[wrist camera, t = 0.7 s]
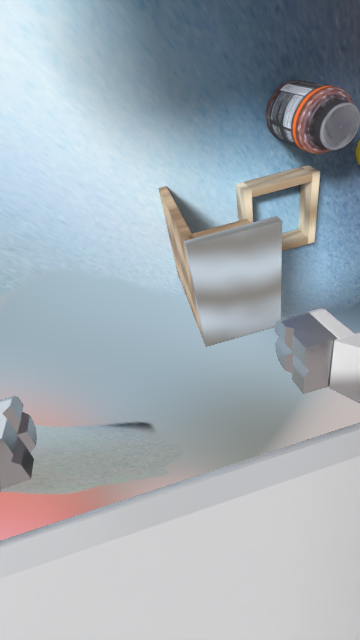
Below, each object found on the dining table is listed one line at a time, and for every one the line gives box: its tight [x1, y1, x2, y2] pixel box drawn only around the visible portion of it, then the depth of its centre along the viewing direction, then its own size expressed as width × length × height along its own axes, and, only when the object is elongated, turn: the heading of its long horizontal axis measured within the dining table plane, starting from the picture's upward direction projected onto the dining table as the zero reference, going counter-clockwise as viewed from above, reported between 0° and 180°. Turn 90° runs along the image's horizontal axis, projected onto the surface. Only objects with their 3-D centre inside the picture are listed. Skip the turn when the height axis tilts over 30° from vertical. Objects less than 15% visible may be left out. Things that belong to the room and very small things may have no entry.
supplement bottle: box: [266, 81, 360, 154], centre depth 36 cm, size 6×6×11 cm
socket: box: [236, 165, 320, 251], centre depth 47 cm, size 10×10×3 cm
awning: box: [159, 187, 282, 347], centre depth 41 cm, size 13×9×16 cm
